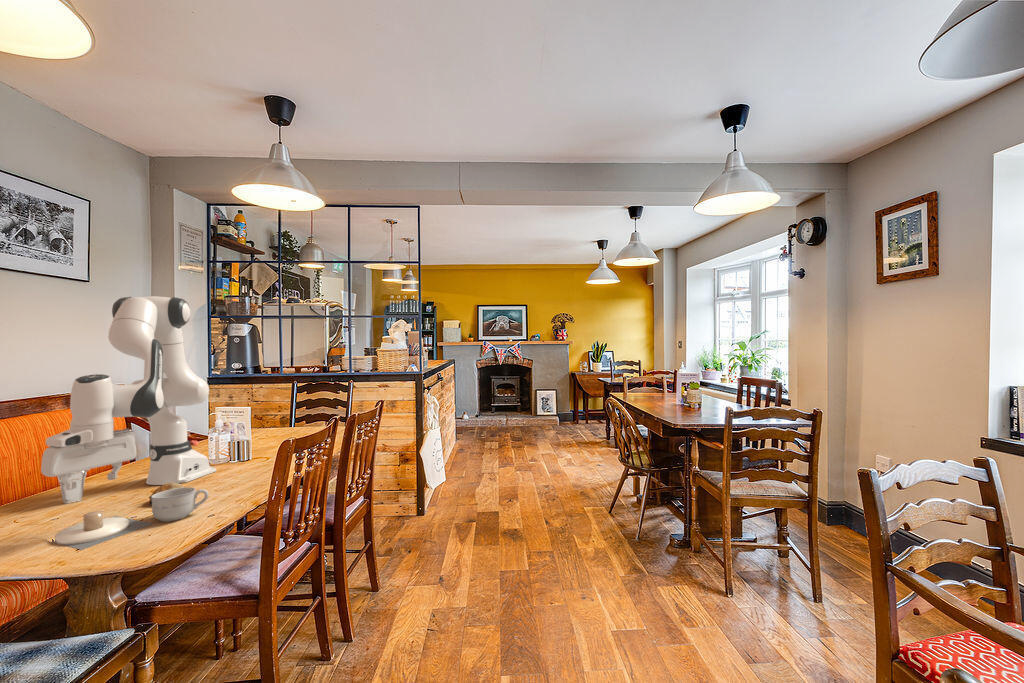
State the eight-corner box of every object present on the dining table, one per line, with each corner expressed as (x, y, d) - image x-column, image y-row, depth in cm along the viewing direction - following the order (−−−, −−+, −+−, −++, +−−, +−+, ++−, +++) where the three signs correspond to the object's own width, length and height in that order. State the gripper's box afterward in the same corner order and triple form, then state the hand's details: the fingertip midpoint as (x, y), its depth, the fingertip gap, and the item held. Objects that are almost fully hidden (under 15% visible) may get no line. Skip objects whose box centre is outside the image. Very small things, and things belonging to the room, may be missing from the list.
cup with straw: (49, 503, 148) (48, 442, 148) (84, 494, 156) (84, 437, 156) (61, 507, 144) (60, 445, 144) (97, 498, 153) (96, 439, 152)
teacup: (143, 527, 129) (143, 499, 129) (162, 513, 140) (161, 487, 140) (199, 522, 133) (199, 494, 133) (213, 508, 143) (213, 483, 143)
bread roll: (184, 513, 149) (196, 489, 151) (148, 508, 142) (162, 482, 144) (177, 506, 155) (189, 483, 158) (142, 500, 148) (155, 476, 151)
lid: (107, 518, 134) (107, 501, 134) (141, 525, 129) (141, 507, 129) (41, 539, 120) (41, 520, 120) (76, 548, 115) (76, 528, 115)
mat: (115, 517, 136) (115, 516, 136) (153, 525, 131) (153, 523, 131) (41, 541, 120) (41, 539, 120) (81, 551, 115) (81, 549, 115)
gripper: (127, 426, 135) (127, 472, 135) (37, 440, 116) (37, 494, 116) (141, 427, 133) (141, 474, 133) (52, 442, 114) (52, 497, 114)
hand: (92, 484), depth 124 cm, fingers open, 8 cm apart
